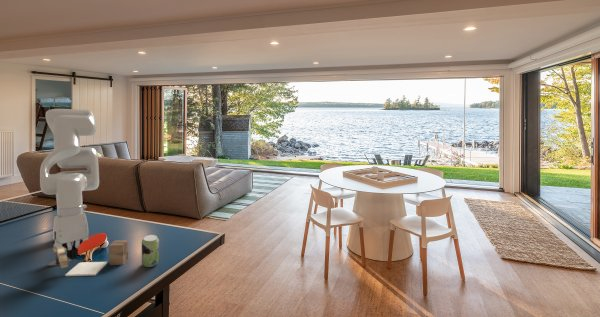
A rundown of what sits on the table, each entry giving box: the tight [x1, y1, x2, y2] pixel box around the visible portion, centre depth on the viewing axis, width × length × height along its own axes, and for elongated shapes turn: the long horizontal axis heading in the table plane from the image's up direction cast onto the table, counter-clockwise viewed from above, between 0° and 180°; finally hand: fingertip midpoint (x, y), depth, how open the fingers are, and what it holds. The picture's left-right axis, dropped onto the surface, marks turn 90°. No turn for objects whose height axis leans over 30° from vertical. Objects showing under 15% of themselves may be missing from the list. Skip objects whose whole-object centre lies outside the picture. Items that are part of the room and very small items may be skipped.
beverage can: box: [141, 234, 160, 268], centre depth 127 cm, size 6×7×12 cm
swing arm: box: [52, 244, 69, 269], centre depth 121 cm, size 20×4×6 cm, turn 41°
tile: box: [64, 261, 108, 277], centre depth 123 cm, size 10×10×1 cm
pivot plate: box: [46, 257, 72, 267], centre depth 128 cm, size 6×6×1 cm
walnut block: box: [108, 239, 129, 266], centre depth 129 cm, size 5×5×8 cm
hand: (72, 258), depth 121 cm, fingers closed
